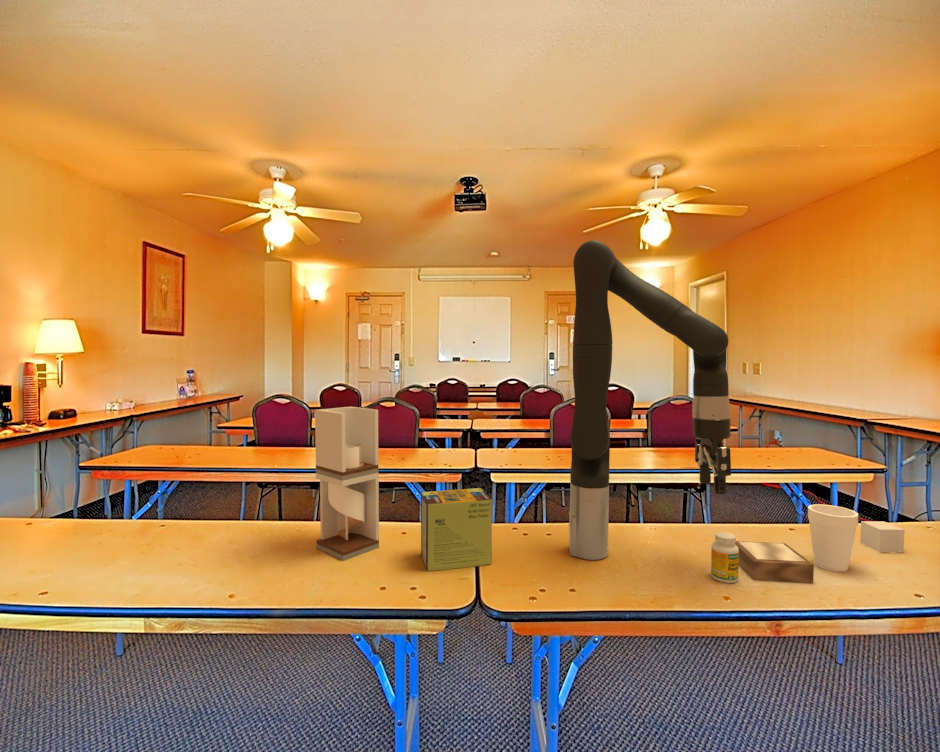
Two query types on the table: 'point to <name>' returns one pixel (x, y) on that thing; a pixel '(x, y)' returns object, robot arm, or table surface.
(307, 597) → the table surface
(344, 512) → the beige cubby shelf tower
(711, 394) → the robot arm
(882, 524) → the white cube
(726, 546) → the supplement bottle
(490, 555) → the protein box
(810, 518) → the foam cup
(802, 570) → the base slab
